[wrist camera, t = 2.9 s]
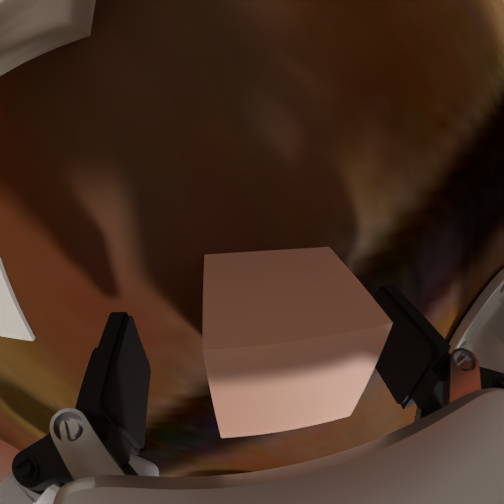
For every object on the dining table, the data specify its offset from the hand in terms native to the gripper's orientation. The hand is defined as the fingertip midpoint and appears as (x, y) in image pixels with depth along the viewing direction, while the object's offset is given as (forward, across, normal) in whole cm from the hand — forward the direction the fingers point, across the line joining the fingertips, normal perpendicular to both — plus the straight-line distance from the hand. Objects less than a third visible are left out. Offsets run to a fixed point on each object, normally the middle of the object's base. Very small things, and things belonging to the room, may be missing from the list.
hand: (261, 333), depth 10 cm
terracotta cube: (+2, -1, 0) cm, 2 cm away
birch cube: (+2, +8, -14) cm, 16 cm away
